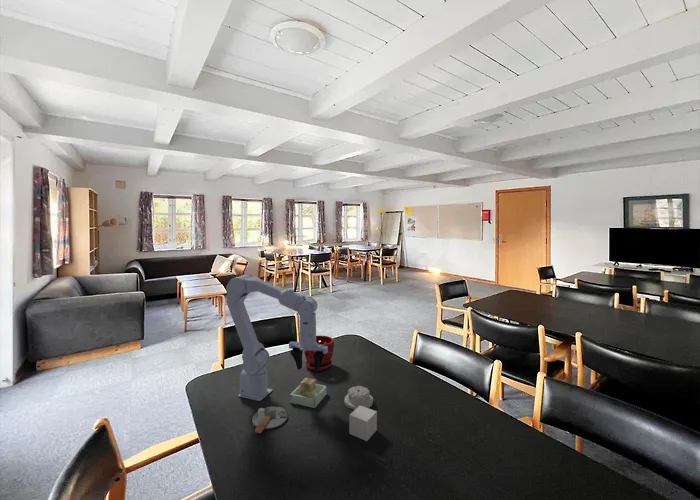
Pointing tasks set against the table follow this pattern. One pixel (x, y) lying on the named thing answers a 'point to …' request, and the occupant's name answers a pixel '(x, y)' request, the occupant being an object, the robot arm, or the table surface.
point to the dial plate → (274, 422)
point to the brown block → (308, 387)
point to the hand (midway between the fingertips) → (308, 370)
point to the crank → (264, 418)
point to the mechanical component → (358, 398)
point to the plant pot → (327, 357)
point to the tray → (308, 401)
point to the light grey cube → (363, 422)
